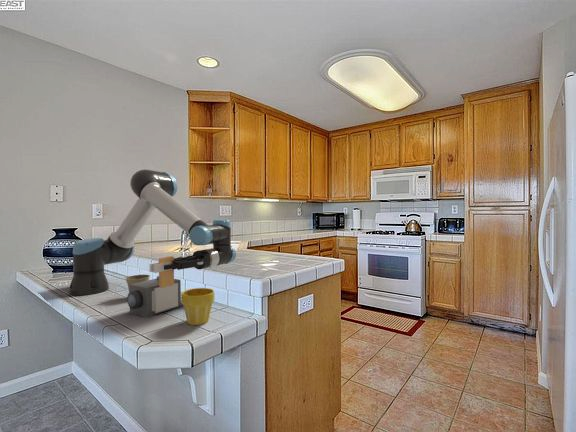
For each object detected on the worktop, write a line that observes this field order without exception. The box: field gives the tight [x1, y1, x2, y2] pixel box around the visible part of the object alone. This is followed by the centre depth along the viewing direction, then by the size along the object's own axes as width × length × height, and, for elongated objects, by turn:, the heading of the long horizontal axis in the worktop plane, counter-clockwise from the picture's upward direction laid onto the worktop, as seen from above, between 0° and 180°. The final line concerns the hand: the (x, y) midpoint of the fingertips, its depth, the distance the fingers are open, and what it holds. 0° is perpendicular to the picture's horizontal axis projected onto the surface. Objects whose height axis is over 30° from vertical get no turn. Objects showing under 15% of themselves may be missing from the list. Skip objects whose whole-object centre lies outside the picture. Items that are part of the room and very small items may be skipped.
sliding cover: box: [154, 256, 178, 313], centre depth 108 cm, size 9×2×18 cm, turn 148°
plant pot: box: [181, 287, 215, 326], centre depth 98 cm, size 10×10×10 cm
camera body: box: [126, 275, 182, 318], centre depth 110 cm, size 16×10×11 cm, turn 148°
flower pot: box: [124, 274, 151, 290], centre depth 127 cm, size 9×9×9 cm
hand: (152, 268), depth 103 cm, fingers closed on sliding cover, 2 cm apart
